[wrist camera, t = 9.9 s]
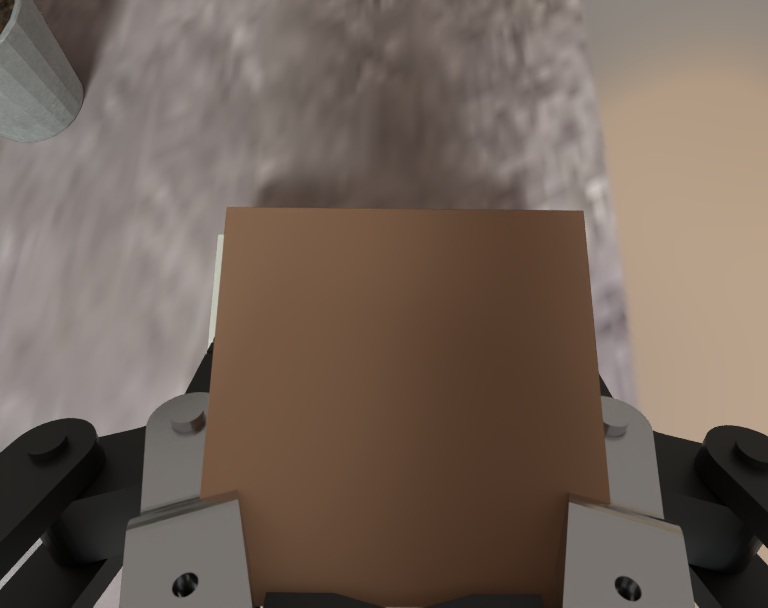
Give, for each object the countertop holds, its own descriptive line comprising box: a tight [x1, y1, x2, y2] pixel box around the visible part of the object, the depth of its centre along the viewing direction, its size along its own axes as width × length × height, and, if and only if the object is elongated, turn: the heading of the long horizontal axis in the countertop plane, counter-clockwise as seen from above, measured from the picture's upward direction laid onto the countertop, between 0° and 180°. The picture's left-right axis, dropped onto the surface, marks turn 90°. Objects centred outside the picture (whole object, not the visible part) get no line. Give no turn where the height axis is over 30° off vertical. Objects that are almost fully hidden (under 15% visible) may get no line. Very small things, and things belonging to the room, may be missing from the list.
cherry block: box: [200, 207, 611, 608], centre depth 11 cm, size 5×5×10 cm
